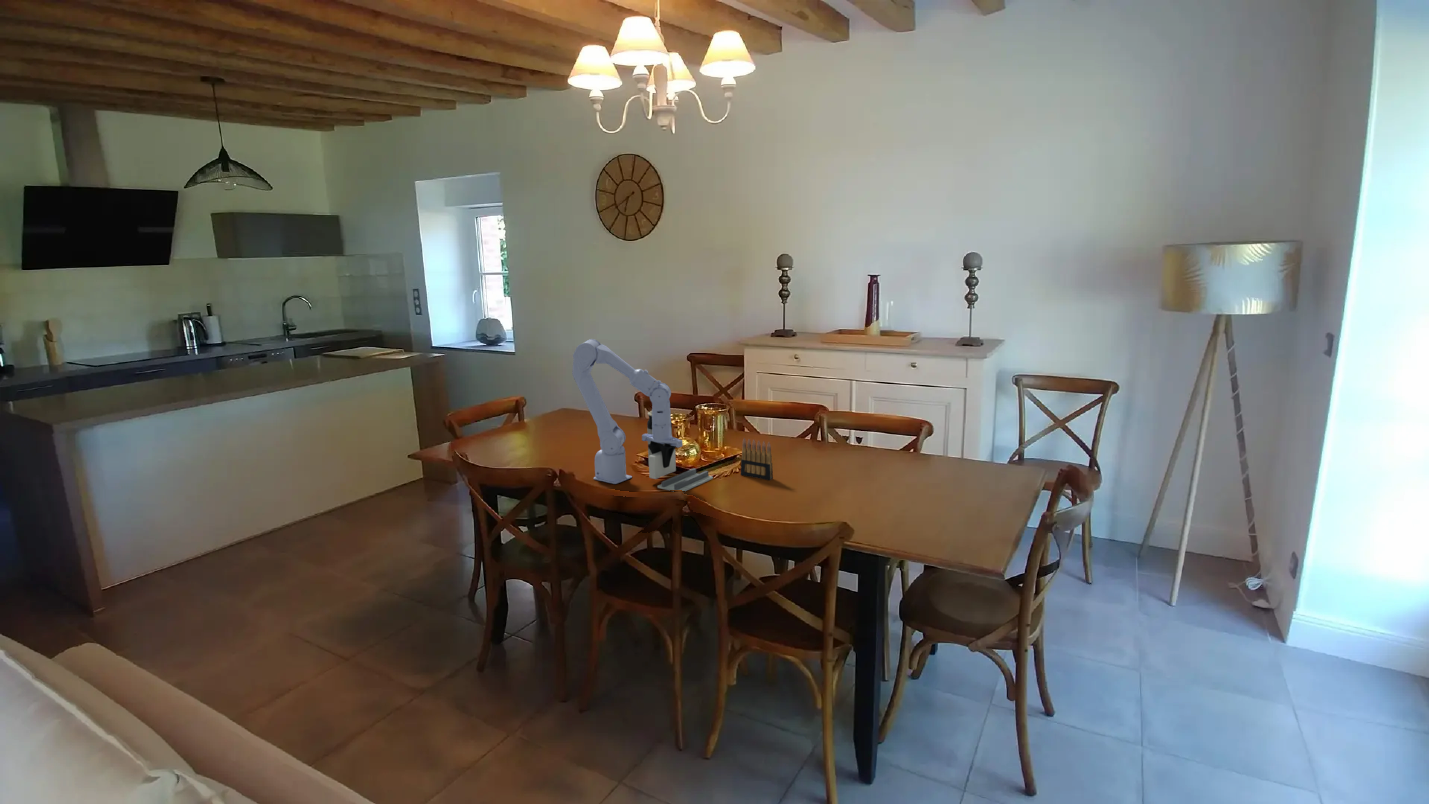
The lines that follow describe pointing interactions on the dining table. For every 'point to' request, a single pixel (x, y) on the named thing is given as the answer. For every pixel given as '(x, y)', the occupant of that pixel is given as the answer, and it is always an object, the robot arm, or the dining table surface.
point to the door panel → (660, 465)
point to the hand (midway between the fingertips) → (662, 466)
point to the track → (685, 480)
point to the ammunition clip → (756, 460)
